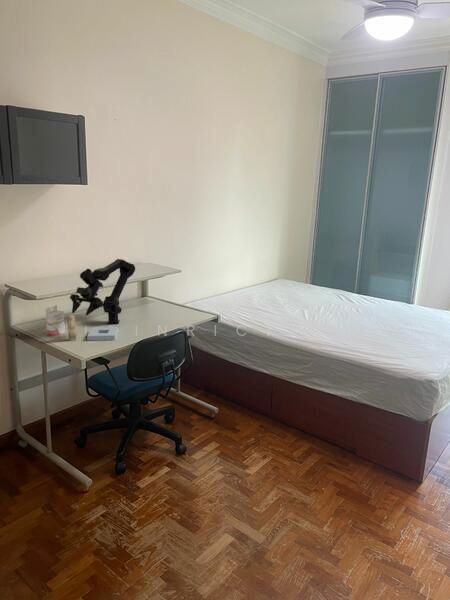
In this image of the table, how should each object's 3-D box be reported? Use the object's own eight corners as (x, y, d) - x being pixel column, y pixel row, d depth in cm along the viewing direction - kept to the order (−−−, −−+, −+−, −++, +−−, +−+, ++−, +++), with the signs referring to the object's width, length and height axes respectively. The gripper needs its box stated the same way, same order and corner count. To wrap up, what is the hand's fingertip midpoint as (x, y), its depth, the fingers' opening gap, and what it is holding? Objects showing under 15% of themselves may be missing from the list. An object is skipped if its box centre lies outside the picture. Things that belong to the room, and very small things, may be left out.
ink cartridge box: (54, 336, 236) (51, 309, 233) (46, 334, 238) (44, 308, 235) (65, 331, 244) (63, 305, 240) (58, 330, 246) (56, 304, 242)
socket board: (92, 332, 244) (92, 327, 243) (118, 331, 245) (118, 327, 245) (87, 340, 231) (87, 335, 230) (114, 340, 232) (114, 335, 231)
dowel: (69, 338, 233) (68, 315, 230) (76, 338, 234) (75, 315, 230) (68, 340, 230) (66, 317, 227) (75, 340, 230) (73, 317, 227)
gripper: (70, 279, 238) (57, 303, 231) (98, 282, 231) (85, 308, 224) (81, 290, 247) (69, 314, 240) (109, 294, 240) (96, 319, 233)
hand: (79, 313), depth 234 cm, fingers open, 9 cm apart
